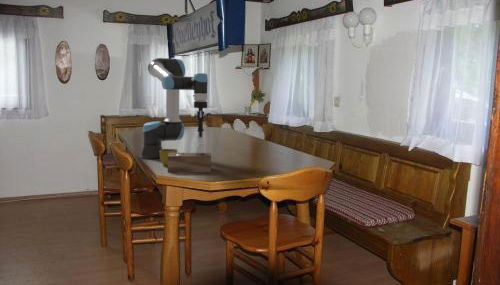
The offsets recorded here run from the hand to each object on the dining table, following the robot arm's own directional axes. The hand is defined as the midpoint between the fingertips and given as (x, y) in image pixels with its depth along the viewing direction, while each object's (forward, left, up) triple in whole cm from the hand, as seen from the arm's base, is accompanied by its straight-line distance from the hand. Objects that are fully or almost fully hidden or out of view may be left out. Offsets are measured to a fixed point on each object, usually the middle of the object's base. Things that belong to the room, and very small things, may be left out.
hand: (200, 142), depth 237 cm
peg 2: (0, 0, -10) cm, 10 cm away
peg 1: (0, -12, -16) cm, 20 cm away
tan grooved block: (0, -6, -16) cm, 17 cm away
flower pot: (-16, -19, -16) cm, 30 cm away
